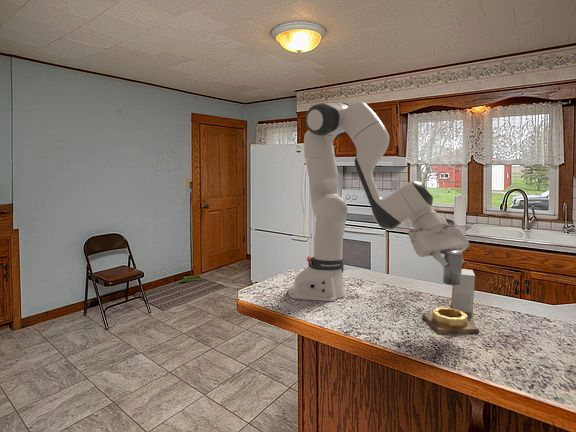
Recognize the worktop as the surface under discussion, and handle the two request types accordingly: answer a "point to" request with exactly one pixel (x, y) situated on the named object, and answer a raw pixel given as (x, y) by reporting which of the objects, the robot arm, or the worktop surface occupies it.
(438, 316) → the ring
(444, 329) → the board
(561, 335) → the worktop surface
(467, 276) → the small box
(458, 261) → the grey metal cylinder
